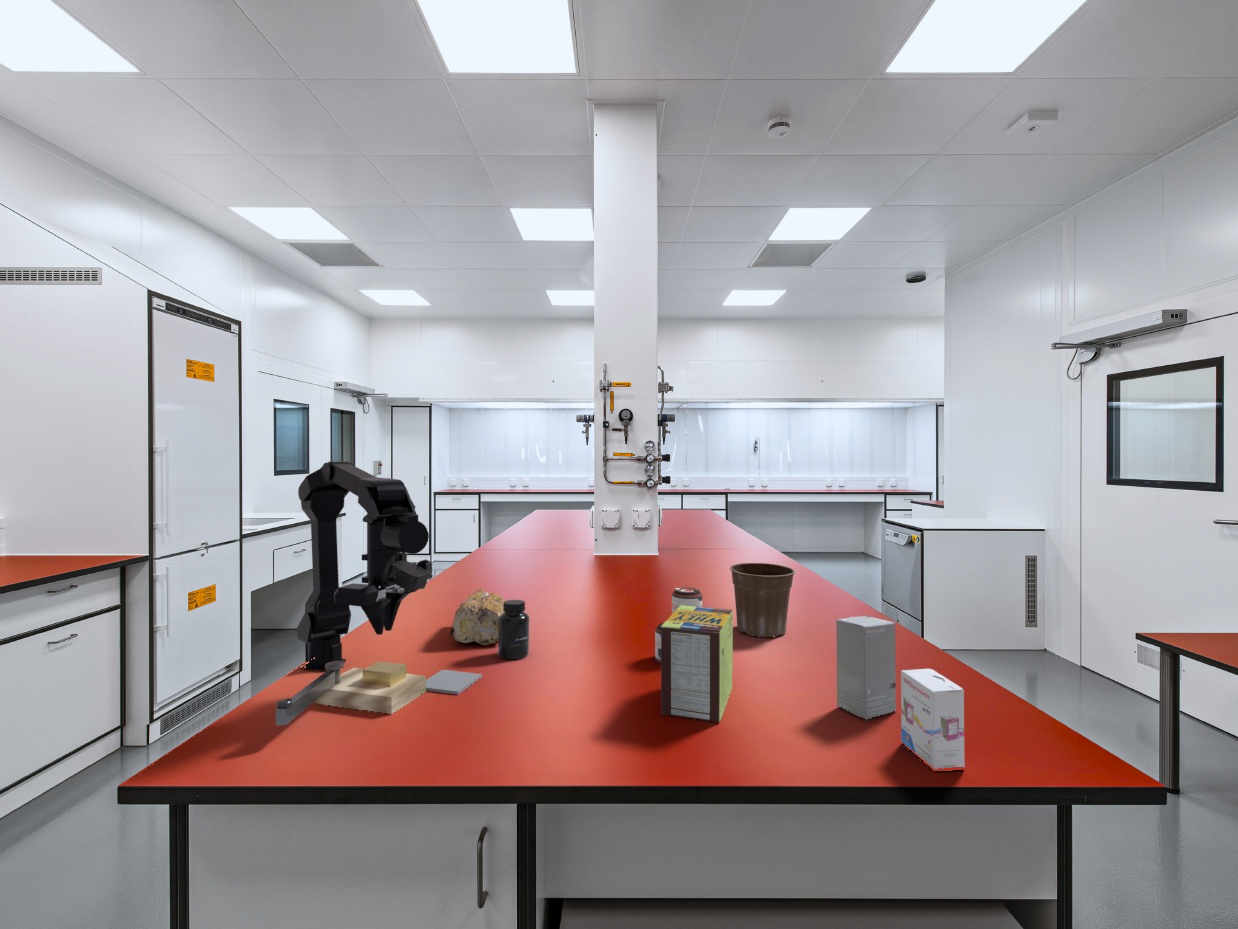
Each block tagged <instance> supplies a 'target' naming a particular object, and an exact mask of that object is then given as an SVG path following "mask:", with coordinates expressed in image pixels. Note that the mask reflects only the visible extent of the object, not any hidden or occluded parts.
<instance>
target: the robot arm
mask: <svg viewBox="0 0 1238 929" xmlns="http://www.w3.org/2000/svg"><path fill="white" fill-rule="evenodd" d="M304 477H305V478H304V479H303V480H302V482H301V483H300V485H299V487H298V491H297V494H298V495H297V496H298V498H299V500H300V505H301V506H300V507H301V510H302V511H303V513H304V514H305V515H306V517H307V518H308V519H309V521H310V533H311V534H310V535H311V537H310V538H311V561H312V586H313V587H312V592H311V593H310V595H309V597H308V599H307V600H306V602H305V604H304V614H303V616H302V618H301V620H300V621H299V623H298V625H297V627H296V635H297V640H299V641H301V642H304V643H305V647H304V648H305V651H304V652H305V654H304V656H305V659H304V660H305V663H306V662H308V661H309V663H308V664H306V665H305V666H306V668H304V667H305V666H303V667H302V668H304V669H302V668H299V669H300V670H301V669H302V670H309V671H315V670H316V671H317V672H326V671H327V670H325V664H326V663H329V662H332V661H343V662H344V663H345V662H346V661H347V659H346V658H344V657H343V646H342V645H343V643H342V641H341V640H342V638H341V637H342V636H341V635H347V634H348V633H349V628H350V622H351V617H352V612H351V608H350V606H354V607H360V608H361V609H362V611H363V612H364V614H365V615H366V618H367V619H368V621H369V623H370V624H371V627H372V628H373V630H374V633H375V635H380V636H381V635H383V634H384V630H385V631H386V632H387V631H388V632H390V631H392V629H393V627H394V624H395V623H394V622H395V620H396V616H397V613H398V612H399V608H400V605H401V604H402V601H403V600H404V599H405V598H406V597H407V596H408V595H410V594H411V593H416V592H417V591H418V590H421V589H422V590H423V589H425V588H426V585H427V584H428V583H427V582H428V580H430V579H433V577H434V576H433V563H432V561H431V560H429V559H422V560H419V561H418V562H411V561H408V555H407V554H411V555H415V554H417V553H420V552H421V551H423V550H424V549H425V548H426V546H427V544H428V542H429V539H430V538H429V537H430V535H429V531H428V528H427V526H426V525H425V524H424V523H423V522H421V521H420V520H419V514H418V513H417V512H416V505H415V504H414V502H413V500H412V499H411V496H410V494H409V491H408V488H407V487H406V485H405V483H404V482H403V481H402V480H401V479H397V478H390V477H377V476H374V475H373V474H371V473H370V472H367V471H365V470H363V469H361V468H359V467H357V466H355V465H354V464H353V463H352V462H349V461H347V460H345V461H339V460H338V461H333V460H332V461H331V460H329V461H328V462H324V463H323V465H322V466H321V467H320V468H319V469H316V470H315V471H313V472H311V473H310V474H308V475H306V476H304ZM349 493H352V494H353V495H355V496H357V497H358V498H357V504H358V505H360V507H362V509H364V511H365V512H366V515H364V516H363V518H362V522H363V523H366V553H363V554H361V561H366V576H365V575H364V576H361V583H350V584H346V585H343V586H340V583H339V580H340V579H339V578H340V577H339V555H338V531H337V530H338V529H337V527H338V526H337V519H338V517H339V516H340V514H341V512H342V511H343V509H344V507H345V498H346V496H347V495H348V494H349ZM314 657H315V659H313V658H314ZM311 659H312V660H311ZM305 663H304V664H305ZM302 665H303V664H301V665H299V666H298V667H300V666H302Z"/></svg>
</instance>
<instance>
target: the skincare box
mask: <svg viewBox="0 0 1238 929" xmlns="http://www.w3.org/2000/svg"><path fill="white" fill-rule="evenodd" d="M835 622H836V623H835V624H836V706H837V707H838V706H839V707H841V708H843V709H842V710H844V709H845V710H844V711H846V710H847V711H846V712H848V711H849V713H850V714H853V715H855V716H857V717H859V718H861V717H862V718H864V719H866V720H865V721H868V720H867V719H869V720H871V719H873V718H872V717H875V718H877V717H876V716H878V717H881V716H884V715H887V714H891V713H894V712H893V711H895V712H896V711H897V685H896V684H897V681H896V680H897V679H896V678H897V677H896V676H897V673H896V671H897V670H896V669H897V668H896V667H897V666H896V663H897V662H896V622H894V621H891V620H887V619H886V620H885V619H882V618H877V617H873V616H869V615H863V616H849V617H844V618H837V619H836V621H835ZM839 707H838V708H839ZM841 708H840V709H841ZM880 715H881V716H880ZM862 718H861V719H862ZM870 718H871V719H870ZM864 719H863V720H864Z"/></svg>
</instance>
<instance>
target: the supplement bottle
mask: <svg viewBox="0 0 1238 929" xmlns="http://www.w3.org/2000/svg"><path fill="white" fill-rule="evenodd" d="M504 601H505V602H504V604H503V611H504V613H503V614H501V615H500V617H499V628H498V641H497V642H498V643H497V644H498V645H497V655H498V656H499V658H500V659H503V660H508V661H514V660H515V661H516V660H521V659H525V658H527V657H528V655H529V652H530V616H529V614H528V613H527V612H525V611H526V601H525V600H523V599H508V600H504Z"/></svg>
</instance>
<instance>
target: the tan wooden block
mask: <svg viewBox="0 0 1238 929" xmlns="http://www.w3.org/2000/svg"><path fill="white" fill-rule="evenodd" d="M406 674H407V664H404V663H396V662H388V661H377V662H374V663H372V664H371V665H369V666H367V667H365V668H363V683H364V684H371V685H379V686H387V687H392V686H393V685H395V684H397V683H398V682H400V681H402V680H403V679H405V678H406Z"/></svg>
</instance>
